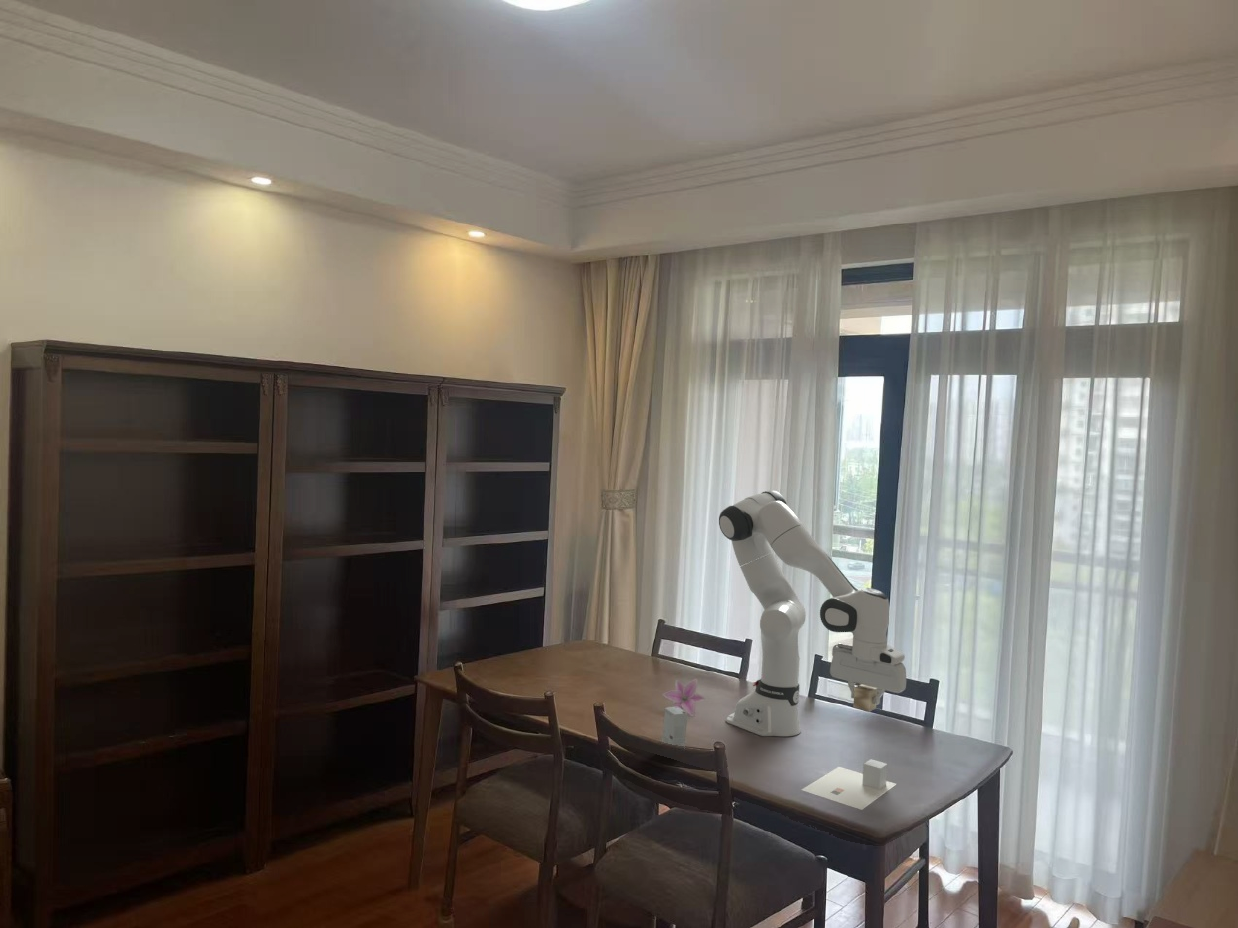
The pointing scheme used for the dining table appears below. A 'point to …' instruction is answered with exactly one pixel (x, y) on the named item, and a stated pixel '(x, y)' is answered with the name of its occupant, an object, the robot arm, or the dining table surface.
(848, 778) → the cream flat sheet
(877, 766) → the grey block
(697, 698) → the lily
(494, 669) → the dining table surface
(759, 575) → the robot arm
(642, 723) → the dining table surface
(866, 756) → the dining table surface
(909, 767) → the dining table surface
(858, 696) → the birch block
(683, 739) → the skincare box
